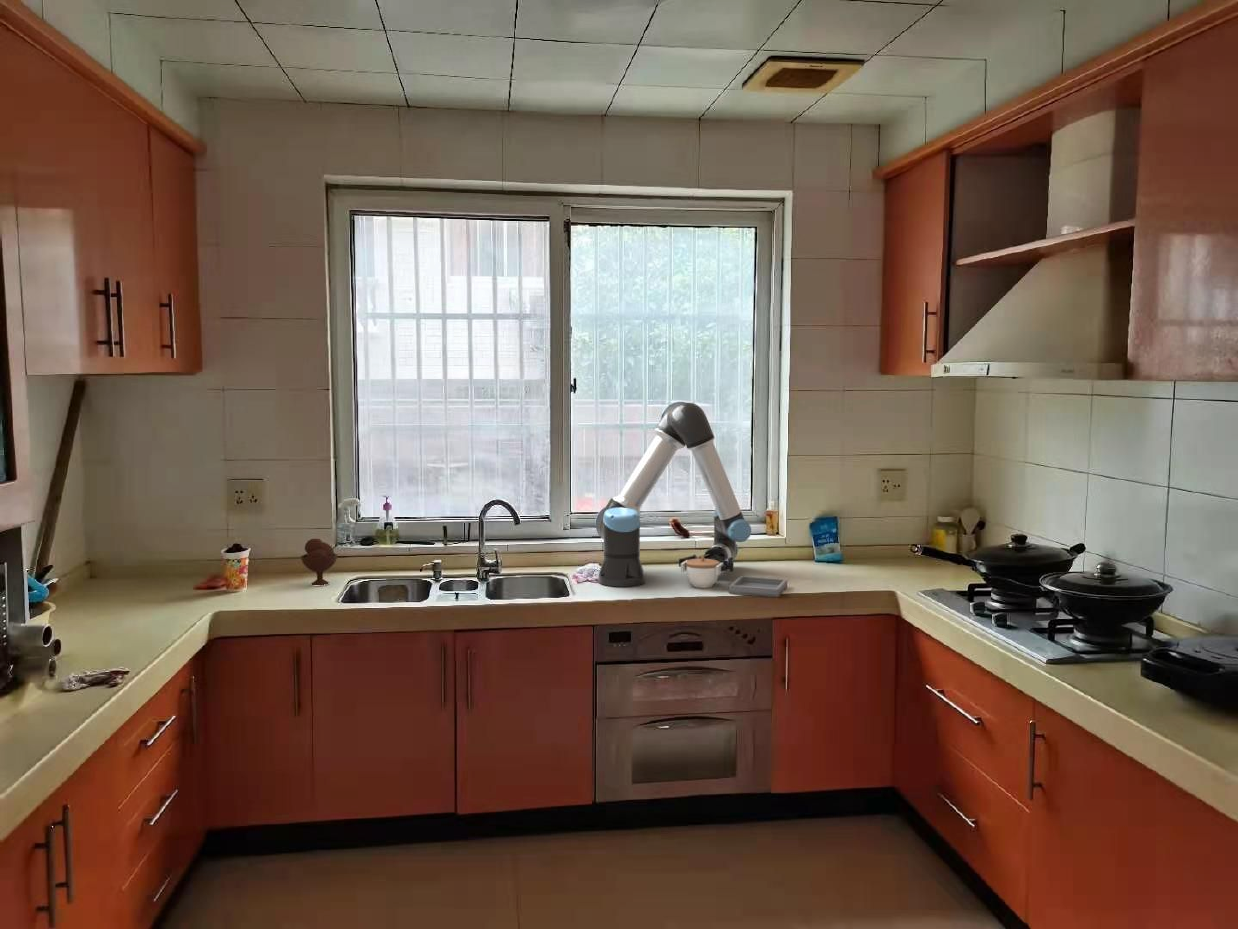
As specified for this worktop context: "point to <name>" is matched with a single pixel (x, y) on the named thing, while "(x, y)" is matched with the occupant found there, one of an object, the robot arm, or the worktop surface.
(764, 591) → the tray
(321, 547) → the ice cream bowl
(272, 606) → the worktop surface
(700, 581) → the lidded jar
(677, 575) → the worktop surface
